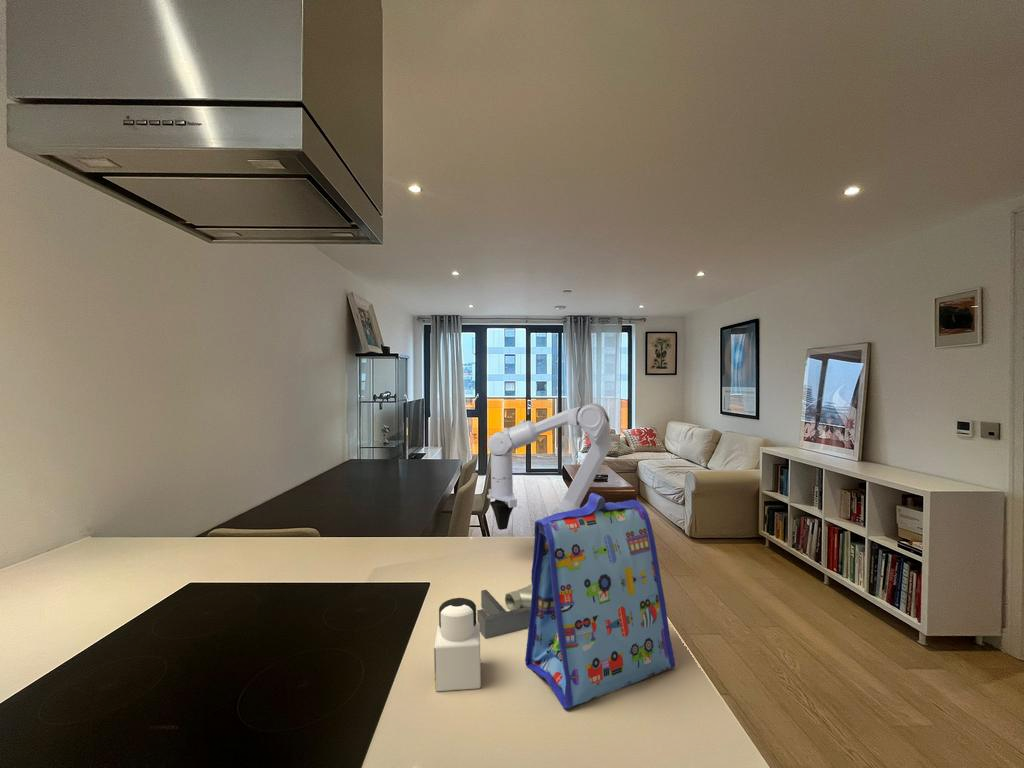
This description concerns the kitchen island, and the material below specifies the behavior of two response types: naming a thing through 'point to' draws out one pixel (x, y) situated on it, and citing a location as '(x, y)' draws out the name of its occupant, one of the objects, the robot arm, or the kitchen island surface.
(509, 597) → the pipe fitting
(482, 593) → the grey angle bracket
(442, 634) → the medicine bottle
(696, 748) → the kitchen island surface
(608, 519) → the lunch bag
